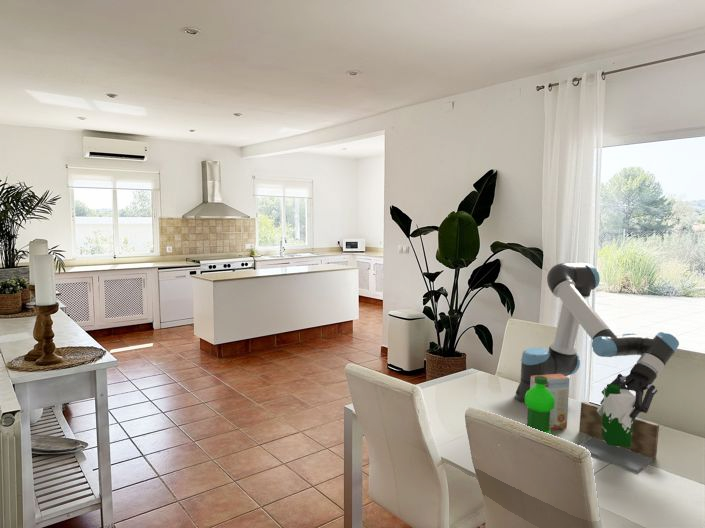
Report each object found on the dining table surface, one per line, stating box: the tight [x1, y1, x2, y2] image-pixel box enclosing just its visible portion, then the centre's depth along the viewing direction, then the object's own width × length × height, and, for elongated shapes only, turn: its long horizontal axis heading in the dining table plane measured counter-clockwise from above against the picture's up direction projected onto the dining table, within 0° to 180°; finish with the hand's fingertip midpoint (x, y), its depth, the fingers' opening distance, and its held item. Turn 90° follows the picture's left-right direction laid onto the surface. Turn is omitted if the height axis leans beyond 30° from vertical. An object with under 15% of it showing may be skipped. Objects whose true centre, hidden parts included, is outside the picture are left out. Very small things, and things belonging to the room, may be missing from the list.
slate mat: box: [579, 437, 653, 474], centre depth 166 cm, size 20×13×1 cm, turn 40°
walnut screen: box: [578, 401, 660, 460], centre depth 174 cm, size 26×2×12 cm, turn 40°
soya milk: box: [602, 383, 636, 447], centre depth 164 cm, size 9×9×20 cm
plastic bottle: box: [524, 376, 555, 435], centre depth 172 cm, size 10×10×25 cm
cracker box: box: [530, 374, 570, 431], centre depth 187 cm, size 14×6×21 cm, turn 104°
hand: (611, 418), depth 163 cm, fingers closed on soya milk, 9 cm apart
